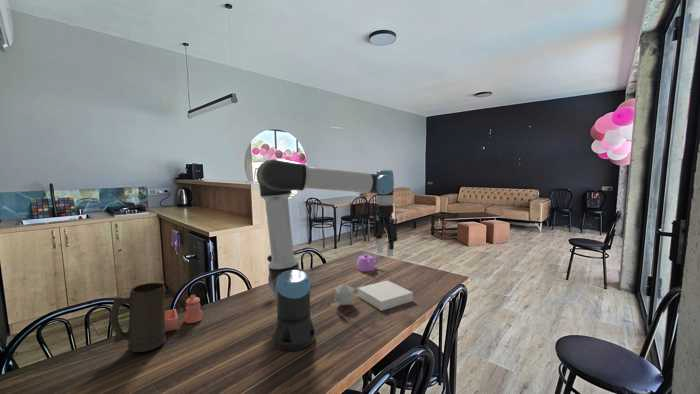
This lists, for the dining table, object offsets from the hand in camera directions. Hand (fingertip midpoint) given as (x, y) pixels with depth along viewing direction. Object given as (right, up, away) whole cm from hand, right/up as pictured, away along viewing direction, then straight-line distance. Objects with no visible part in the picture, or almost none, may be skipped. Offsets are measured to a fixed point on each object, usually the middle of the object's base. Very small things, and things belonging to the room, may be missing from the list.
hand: (385, 254), depth 135 cm
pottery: (-83, -23, -21) cm, 89 cm away
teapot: (-4, -18, +42) cm, 45 cm away
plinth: (0, -21, +2) cm, 21 cm away
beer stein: (-86, -24, -36) cm, 97 cm away
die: (-19, -22, -5) cm, 29 cm away
